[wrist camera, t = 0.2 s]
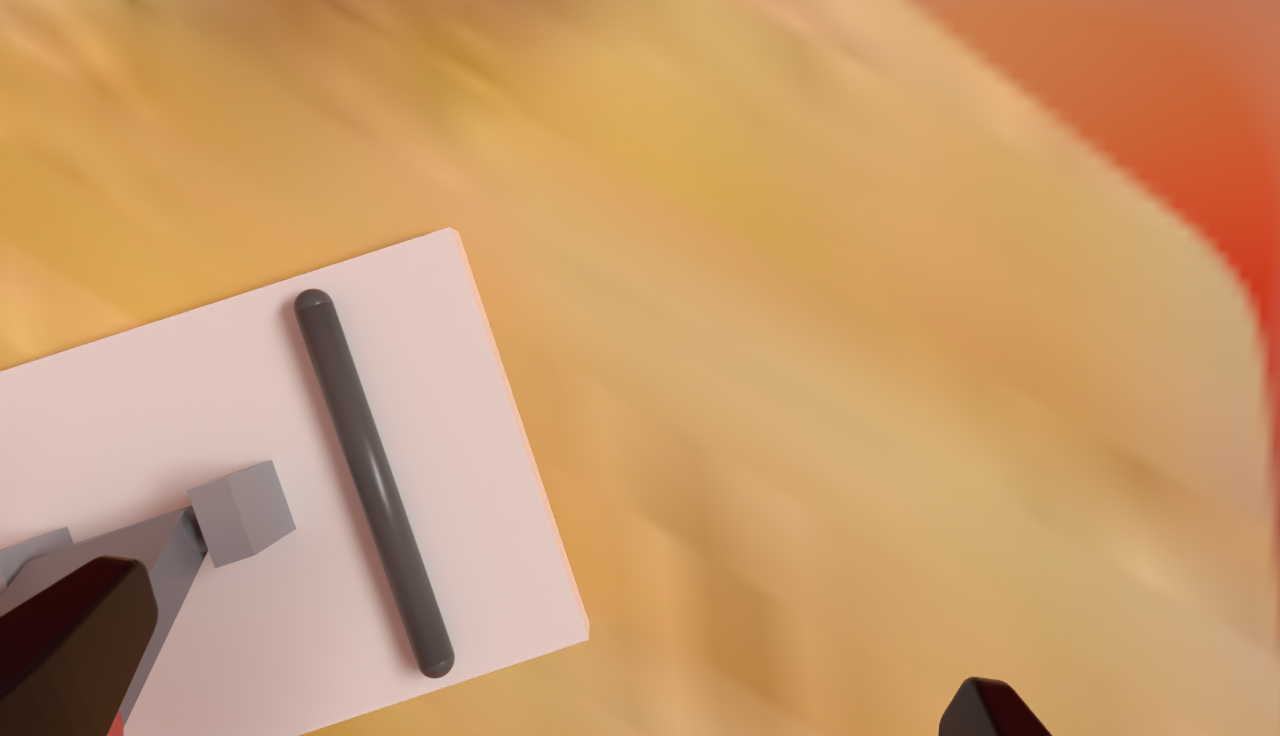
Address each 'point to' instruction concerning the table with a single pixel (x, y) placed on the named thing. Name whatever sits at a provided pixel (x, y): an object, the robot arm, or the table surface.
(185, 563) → the lever
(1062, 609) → the table surface
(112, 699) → the robot arm
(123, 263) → the table surface
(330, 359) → the plate
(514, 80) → the table surface
